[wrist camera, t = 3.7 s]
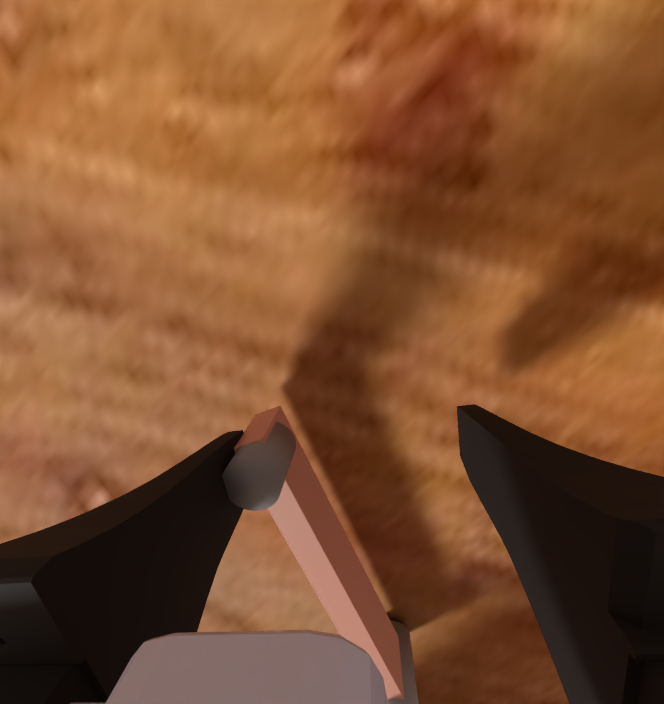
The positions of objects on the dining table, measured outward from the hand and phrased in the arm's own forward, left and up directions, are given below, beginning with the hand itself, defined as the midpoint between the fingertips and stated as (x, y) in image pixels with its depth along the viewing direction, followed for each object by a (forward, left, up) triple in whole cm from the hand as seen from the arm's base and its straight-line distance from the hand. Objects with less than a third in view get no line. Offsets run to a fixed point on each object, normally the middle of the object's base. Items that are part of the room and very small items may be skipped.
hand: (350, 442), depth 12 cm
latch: (-3, +6, -2) cm, 7 cm away
